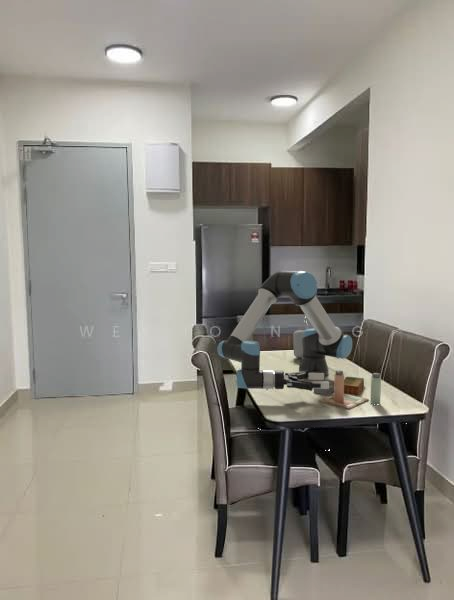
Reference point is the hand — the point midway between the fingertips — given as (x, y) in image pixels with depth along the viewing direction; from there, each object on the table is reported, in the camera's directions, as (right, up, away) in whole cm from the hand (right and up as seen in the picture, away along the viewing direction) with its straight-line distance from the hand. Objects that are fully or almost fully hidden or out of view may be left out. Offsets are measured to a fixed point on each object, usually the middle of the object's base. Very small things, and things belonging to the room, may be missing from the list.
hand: (326, 380), depth 187 cm
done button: (+2, -5, +16) cm, 17 cm away
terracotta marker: (+5, -8, +1) cm, 10 cm away
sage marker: (+20, -9, 0) cm, 22 cm away
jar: (+6, -2, +84) cm, 84 cm away
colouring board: (+8, -9, +3) cm, 12 cm away
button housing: (+2, -8, +16) cm, 18 cm away
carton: (+16, -8, +20) cm, 27 cm away
